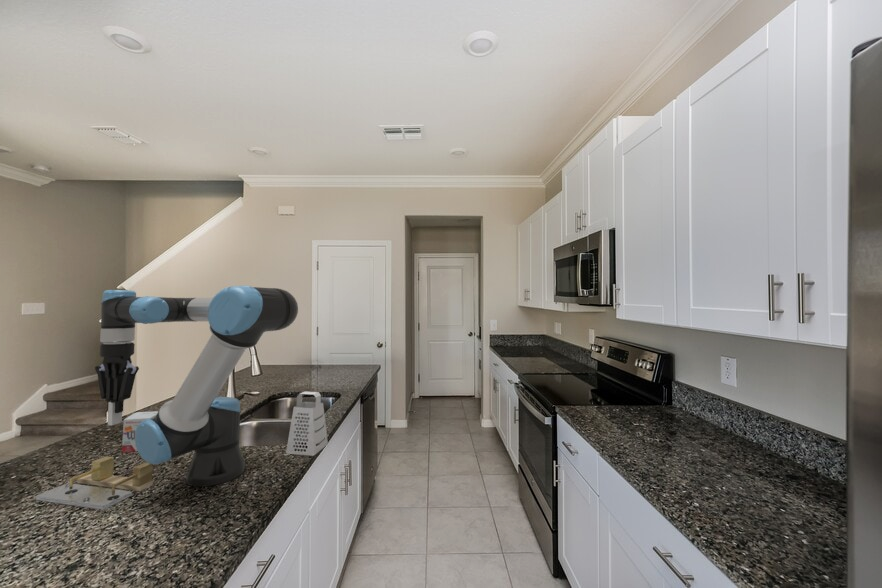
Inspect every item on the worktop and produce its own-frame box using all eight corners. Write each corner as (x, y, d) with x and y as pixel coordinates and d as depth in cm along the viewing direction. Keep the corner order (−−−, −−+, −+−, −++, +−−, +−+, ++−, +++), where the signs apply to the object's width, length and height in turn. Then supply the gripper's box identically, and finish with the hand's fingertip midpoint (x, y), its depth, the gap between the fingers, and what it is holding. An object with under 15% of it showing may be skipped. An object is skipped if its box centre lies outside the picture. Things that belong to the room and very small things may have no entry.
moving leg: (113, 474, 105) (114, 457, 105) (73, 491, 96) (74, 472, 96) (105, 473, 106) (105, 456, 106) (65, 490, 96) (65, 471, 96)
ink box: (120, 453, 124) (122, 418, 124) (134, 444, 132) (135, 411, 132) (150, 450, 126) (151, 416, 126) (161, 441, 134) (162, 410, 135)
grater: (313, 455, 124) (315, 397, 125) (285, 453, 126) (287, 395, 126) (327, 444, 134) (329, 390, 135) (302, 442, 136) (303, 388, 137)
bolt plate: (131, 495, 97) (132, 490, 97) (103, 509, 90) (103, 504, 90) (67, 486, 101) (68, 481, 101) (35, 499, 94) (35, 494, 94)
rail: (152, 484, 103) (153, 462, 103) (116, 503, 93) (117, 478, 93) (91, 476, 107) (92, 455, 107) (50, 493, 97) (51, 470, 97)
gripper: (148, 341, 108) (146, 421, 107) (113, 340, 110) (110, 418, 109) (122, 344, 100) (119, 429, 100) (85, 343, 103) (81, 426, 102)
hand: (114, 423), depth 105 cm, fingers closed
